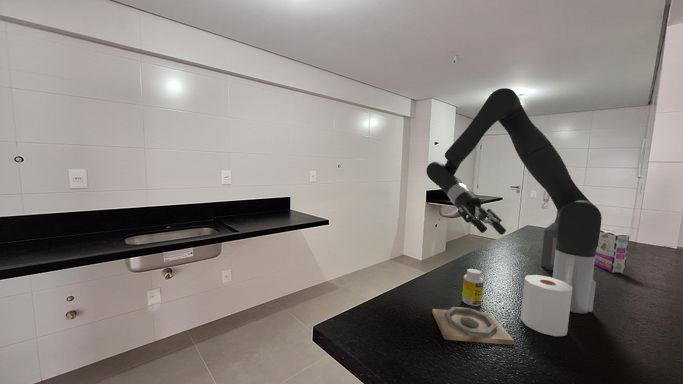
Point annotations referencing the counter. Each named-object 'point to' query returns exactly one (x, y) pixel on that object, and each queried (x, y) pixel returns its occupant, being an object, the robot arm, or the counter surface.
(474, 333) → the seat plate
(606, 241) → the candy bar box
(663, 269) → the counter surface
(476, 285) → the supplement bottle
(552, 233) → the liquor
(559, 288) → the toilet paper
